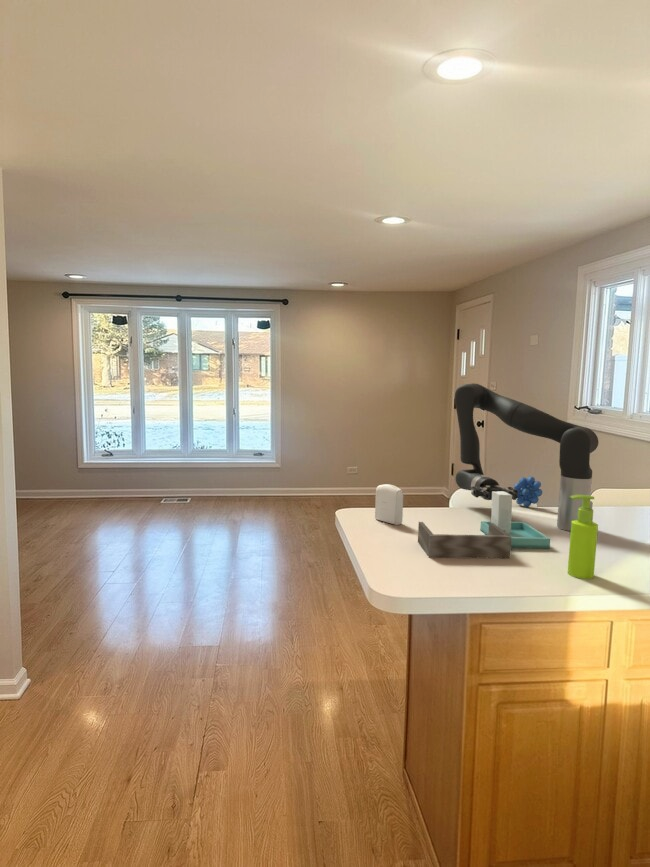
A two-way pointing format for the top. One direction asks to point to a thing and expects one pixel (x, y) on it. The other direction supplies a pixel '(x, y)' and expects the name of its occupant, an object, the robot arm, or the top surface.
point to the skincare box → (501, 510)
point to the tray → (522, 536)
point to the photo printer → (389, 504)
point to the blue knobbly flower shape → (528, 491)
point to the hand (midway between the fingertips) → (502, 496)
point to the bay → (465, 544)
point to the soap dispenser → (583, 541)
